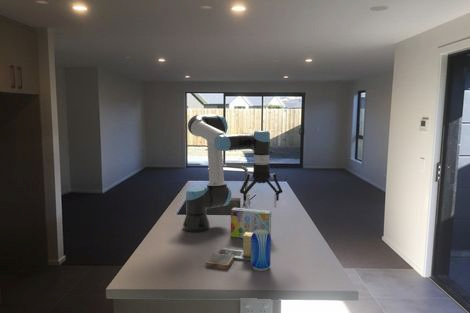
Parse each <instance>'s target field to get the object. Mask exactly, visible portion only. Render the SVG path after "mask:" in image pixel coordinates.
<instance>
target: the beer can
mask: <svg viewBox="0 0 470 313" xmlns="http://www.w3.org/2000/svg"><path fill="white" fill-rule="evenodd" d="M271 246H272V235H271V236H270V234H269V231H267V230H264V229H257V230H254V231H253V234H252V236H251V261H250V266H251V267H252V269H253V270H254V271H258V272H265V271H267V270H269V268H270V267H271V254H272V253H271V250H272V247H271Z"/></svg>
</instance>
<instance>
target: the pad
mask: <svg viewBox="0 0 470 313" xmlns="http://www.w3.org/2000/svg"><path fill="white" fill-rule="evenodd" d="M234 261H235V260H234V256H232V255H223V254H218V253H215V252H214V253H212V254H211V256H210V257H209V258H208V259H207V260H206V261H205V267H206V268H212V269H220V270H227V271H228V270H229V269H230V268H231V267H232V264H233V263H234Z"/></svg>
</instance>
